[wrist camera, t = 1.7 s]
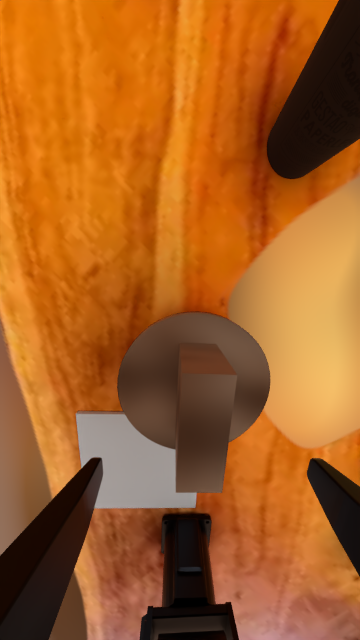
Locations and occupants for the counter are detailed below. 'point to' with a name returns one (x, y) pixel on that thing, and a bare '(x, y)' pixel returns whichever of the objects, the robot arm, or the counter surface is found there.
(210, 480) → the lid
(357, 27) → the drinking cup
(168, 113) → the counter surface
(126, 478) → the mat
